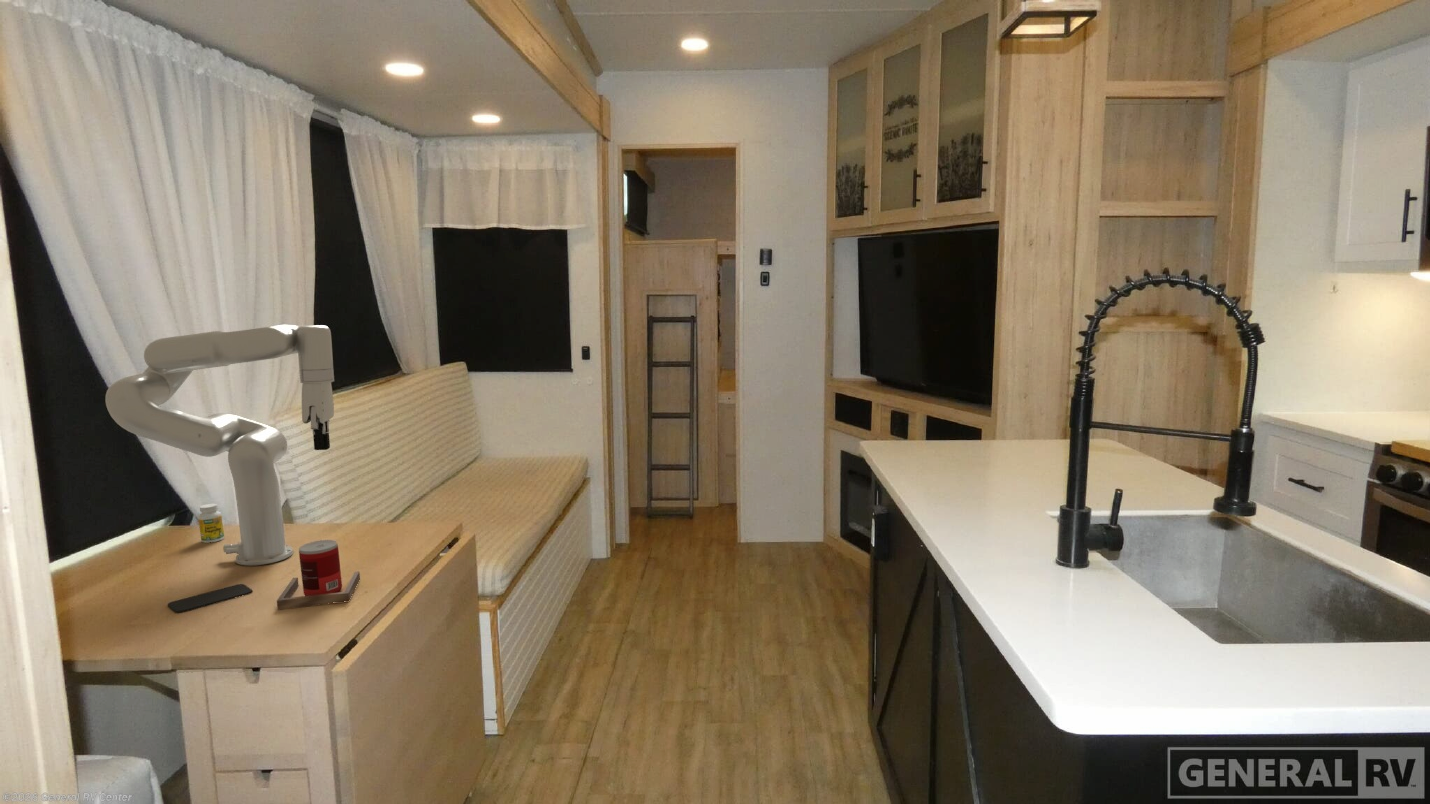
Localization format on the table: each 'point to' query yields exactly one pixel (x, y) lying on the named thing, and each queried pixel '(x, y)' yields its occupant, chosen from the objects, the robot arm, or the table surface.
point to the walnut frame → (303, 601)
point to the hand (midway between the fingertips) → (322, 449)
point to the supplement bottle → (210, 523)
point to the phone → (209, 598)
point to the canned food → (320, 567)
